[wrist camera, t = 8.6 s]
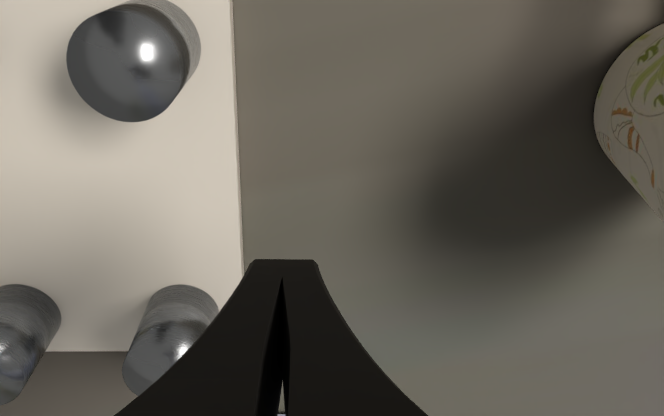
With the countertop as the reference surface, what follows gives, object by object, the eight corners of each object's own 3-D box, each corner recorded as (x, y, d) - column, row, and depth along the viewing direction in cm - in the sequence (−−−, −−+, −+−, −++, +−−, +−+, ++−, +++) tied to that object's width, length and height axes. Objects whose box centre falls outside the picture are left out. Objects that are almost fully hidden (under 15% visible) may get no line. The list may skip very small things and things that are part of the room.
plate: (246, 338, 25) (244, 350, 24) (-125, 339, 24) (-139, 352, 23) (231, -21, 18) (228, -18, 17) (-289, -39, 17) (-315, -38, 16)
